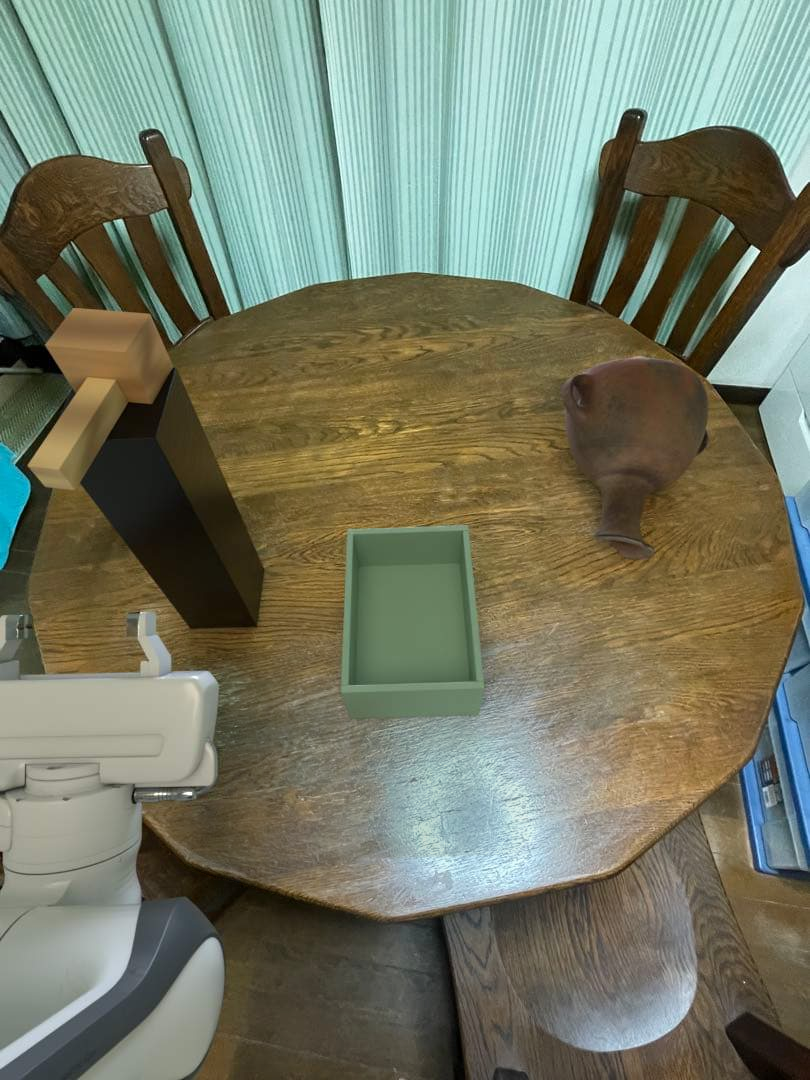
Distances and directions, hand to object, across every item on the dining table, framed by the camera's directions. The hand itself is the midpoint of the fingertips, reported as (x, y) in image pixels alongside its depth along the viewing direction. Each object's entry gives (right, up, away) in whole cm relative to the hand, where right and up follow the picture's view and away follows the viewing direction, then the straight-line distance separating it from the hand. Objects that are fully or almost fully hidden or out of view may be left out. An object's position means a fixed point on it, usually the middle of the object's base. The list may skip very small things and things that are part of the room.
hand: (79, 613), depth 44 cm
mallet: (-2, +15, +6) cm, 16 cm away
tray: (+25, -7, +33) cm, 43 cm away
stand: (0, -3, +37) cm, 38 cm away
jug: (+57, +13, +46) cm, 74 cm away
